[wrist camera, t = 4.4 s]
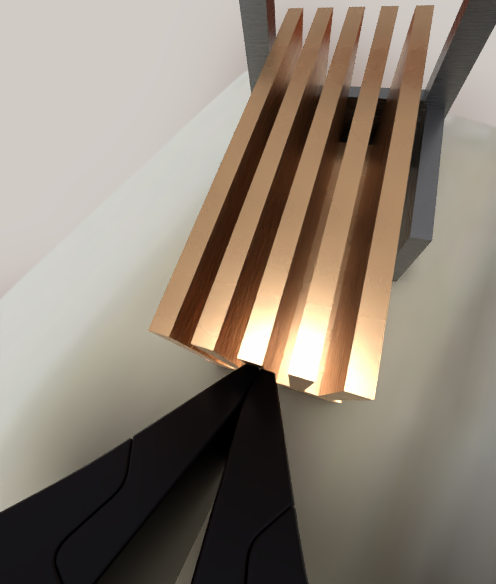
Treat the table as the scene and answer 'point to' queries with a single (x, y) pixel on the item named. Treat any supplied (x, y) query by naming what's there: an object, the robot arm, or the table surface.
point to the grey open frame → (432, 107)
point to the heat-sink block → (304, 215)
